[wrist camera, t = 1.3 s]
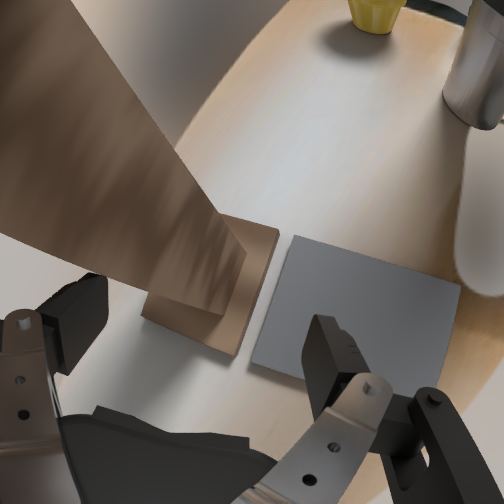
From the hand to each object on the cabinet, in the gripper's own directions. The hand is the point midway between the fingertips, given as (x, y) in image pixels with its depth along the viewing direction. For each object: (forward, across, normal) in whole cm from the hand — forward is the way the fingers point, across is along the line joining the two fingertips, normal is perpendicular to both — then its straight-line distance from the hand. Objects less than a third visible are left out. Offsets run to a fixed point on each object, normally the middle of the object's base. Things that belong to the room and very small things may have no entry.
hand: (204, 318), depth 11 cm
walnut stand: (+18, +1, +6) cm, 18 cm away
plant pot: (+36, -16, -34) cm, 52 cm away
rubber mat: (+13, -13, +6) cm, 19 cm away
